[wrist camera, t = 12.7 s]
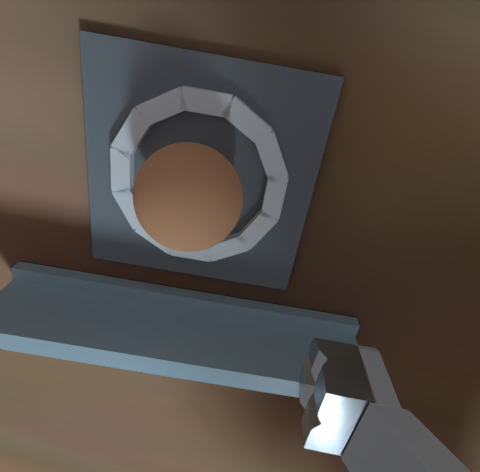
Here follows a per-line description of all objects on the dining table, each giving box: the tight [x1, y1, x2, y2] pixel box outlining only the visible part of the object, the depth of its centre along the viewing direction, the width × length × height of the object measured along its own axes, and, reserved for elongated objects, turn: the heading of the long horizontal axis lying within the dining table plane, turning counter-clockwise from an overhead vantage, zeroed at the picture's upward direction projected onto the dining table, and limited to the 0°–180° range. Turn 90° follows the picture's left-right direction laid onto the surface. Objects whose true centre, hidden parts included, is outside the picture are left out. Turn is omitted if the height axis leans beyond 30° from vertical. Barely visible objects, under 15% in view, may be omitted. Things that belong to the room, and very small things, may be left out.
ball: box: [133, 142, 243, 252], centre depth 16 cm, size 5×5×5 cm
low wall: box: [0, 261, 360, 398], centre depth 20 cm, size 3×22×5 cm, turn 81°
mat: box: [79, 30, 345, 290], centre depth 18 cm, size 12×12×1 cm
